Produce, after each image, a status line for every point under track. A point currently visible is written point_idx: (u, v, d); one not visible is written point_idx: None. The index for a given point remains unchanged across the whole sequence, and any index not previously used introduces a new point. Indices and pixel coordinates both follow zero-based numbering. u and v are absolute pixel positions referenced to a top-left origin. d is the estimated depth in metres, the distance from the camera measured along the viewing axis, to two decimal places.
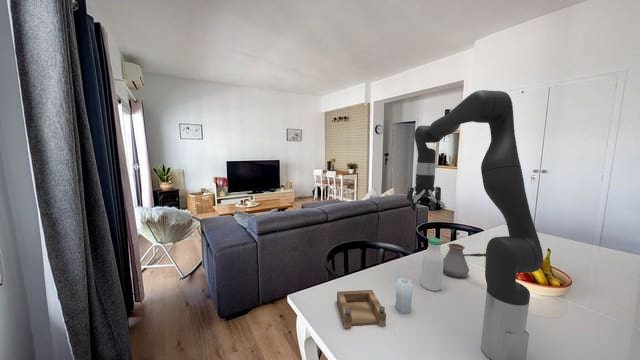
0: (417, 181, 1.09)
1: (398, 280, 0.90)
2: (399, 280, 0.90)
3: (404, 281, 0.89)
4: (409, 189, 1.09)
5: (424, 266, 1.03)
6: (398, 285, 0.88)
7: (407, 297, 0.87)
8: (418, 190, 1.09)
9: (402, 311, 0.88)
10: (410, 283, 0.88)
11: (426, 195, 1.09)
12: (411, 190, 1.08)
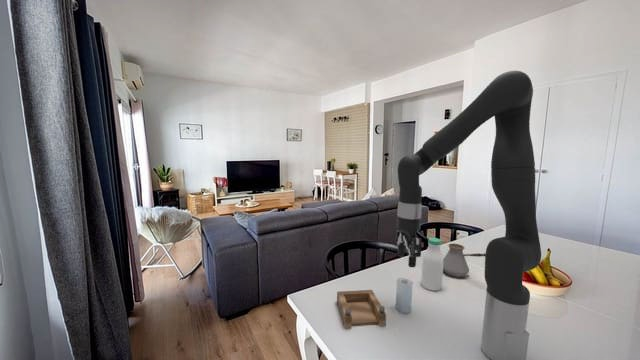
0: (415, 228, 0.83)
1: (398, 280, 0.90)
2: (399, 280, 0.90)
3: (404, 281, 0.89)
4: (418, 242, 0.80)
5: (424, 266, 1.03)
6: (398, 285, 0.88)
7: (407, 297, 0.87)
8: None
9: (402, 311, 0.88)
10: (410, 283, 0.88)
11: None
12: None
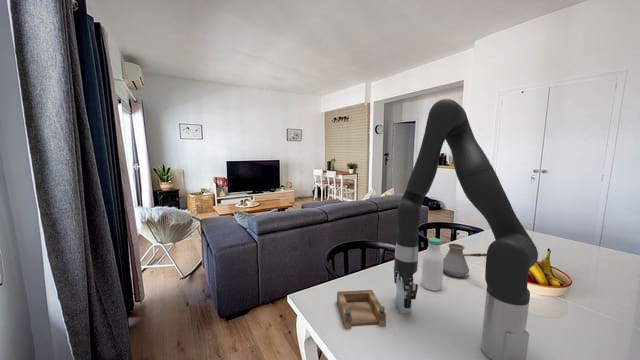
0: (412, 270, 0.85)
1: (398, 280, 0.90)
2: (399, 280, 0.90)
3: None
4: (414, 288, 0.82)
5: (424, 266, 1.03)
6: (398, 285, 0.88)
7: None
8: None
9: (402, 311, 0.88)
10: None
11: None
12: None
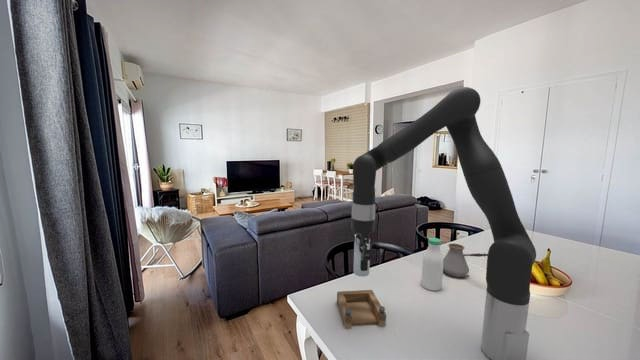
0: (367, 230, 0.80)
1: (356, 242, 0.85)
2: None
3: None
4: (369, 247, 0.78)
5: (424, 266, 1.03)
6: (355, 247, 0.83)
7: None
8: None
9: (359, 274, 0.83)
10: None
11: None
12: None
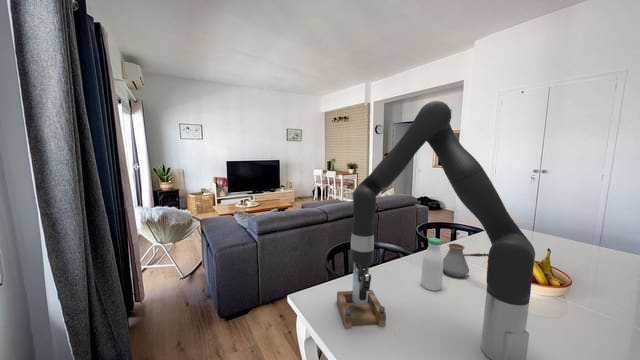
0: (366, 260, 0.81)
1: (355, 271, 0.86)
2: None
3: None
4: (367, 279, 0.79)
5: (424, 266, 1.03)
6: (354, 276, 0.85)
7: None
8: None
9: (358, 303, 0.84)
10: None
11: None
12: None
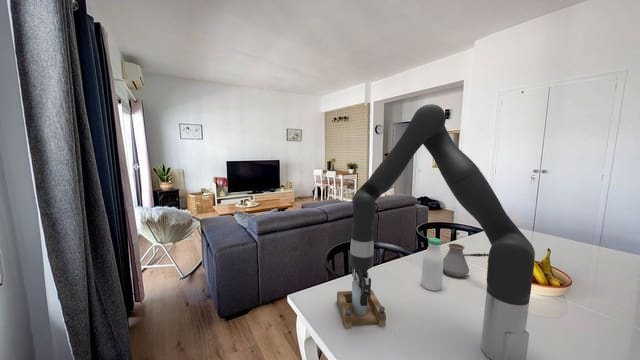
0: (366, 266, 0.81)
1: (353, 281, 0.87)
2: (354, 281, 0.87)
3: None
4: (367, 282, 0.79)
5: (424, 266, 1.03)
6: (352, 287, 0.85)
7: None
8: None
9: (357, 313, 0.85)
10: None
11: None
12: None
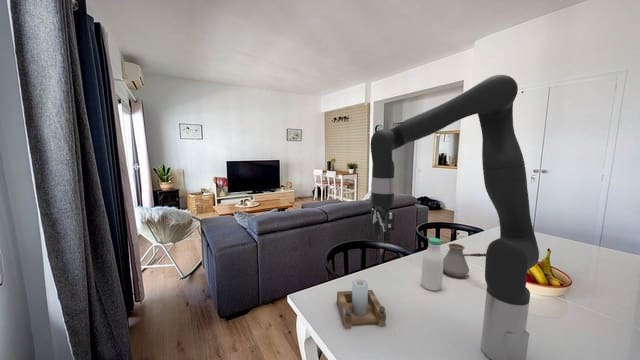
0: (388, 203, 0.82)
1: (354, 281, 0.87)
2: (355, 281, 0.87)
3: (359, 282, 0.85)
4: (391, 216, 0.79)
5: (424, 266, 1.03)
6: (352, 287, 0.85)
7: (362, 299, 0.84)
8: None
9: (357, 313, 0.85)
10: (365, 285, 0.85)
11: None
12: None
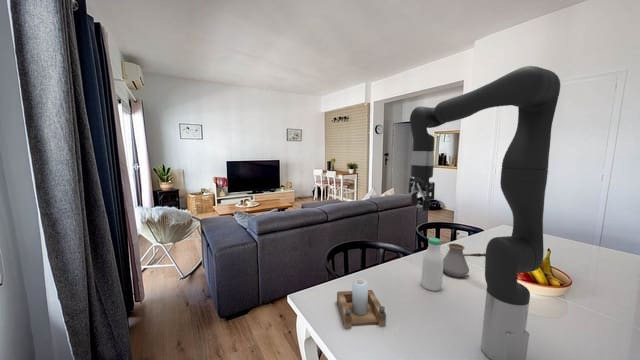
0: (428, 174, 0.90)
1: (354, 280, 0.87)
2: (355, 280, 0.87)
3: (359, 281, 0.86)
4: (431, 185, 0.87)
5: (424, 266, 1.03)
6: (352, 285, 0.86)
7: (361, 298, 0.84)
8: None
9: (356, 313, 0.85)
10: (365, 284, 0.85)
11: None
12: None
